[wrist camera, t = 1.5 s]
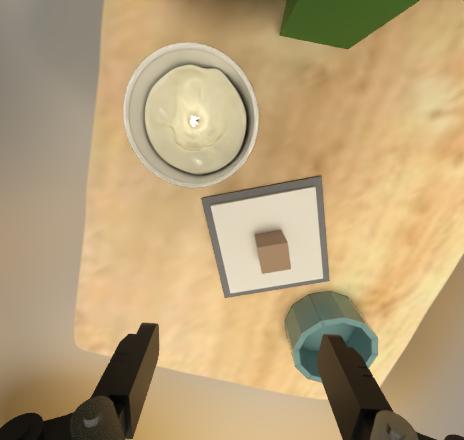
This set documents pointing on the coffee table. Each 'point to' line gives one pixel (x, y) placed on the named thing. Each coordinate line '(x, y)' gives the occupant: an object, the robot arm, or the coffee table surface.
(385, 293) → the coffee table surface
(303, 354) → the teal pet bowl
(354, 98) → the coffee table surface
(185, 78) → the candle holder
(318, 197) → the rubber mat
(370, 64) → the coffee table surface
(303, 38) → the hardback book
